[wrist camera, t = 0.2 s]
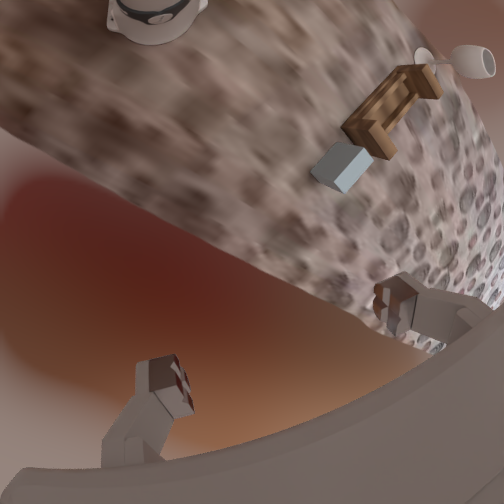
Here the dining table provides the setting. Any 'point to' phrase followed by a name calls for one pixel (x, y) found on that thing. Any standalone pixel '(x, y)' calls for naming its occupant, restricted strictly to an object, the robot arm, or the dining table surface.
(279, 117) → the dining table surface
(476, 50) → the wineglass
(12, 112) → the dining table surface
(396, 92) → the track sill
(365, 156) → the door panel
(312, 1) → the dining table surface
